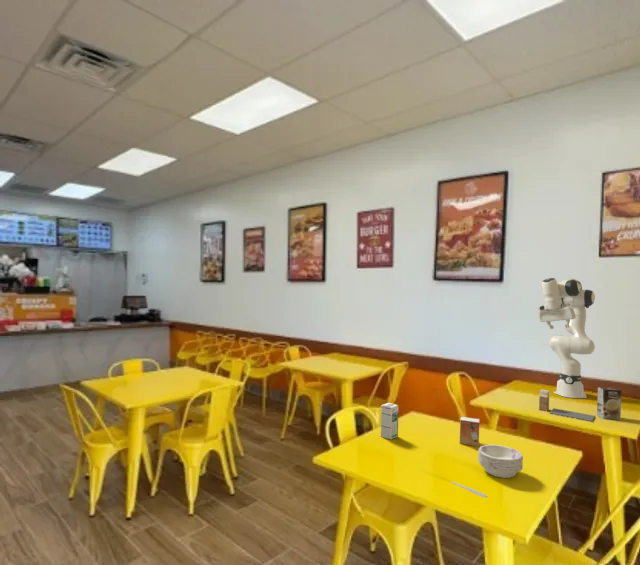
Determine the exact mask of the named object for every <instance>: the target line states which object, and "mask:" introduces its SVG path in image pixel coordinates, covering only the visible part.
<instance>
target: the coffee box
mask: <svg viewBox="0 0 640 565" xmlns="http://www.w3.org/2000/svg"><path fill="white" fill-rule="evenodd" d="M596 401H597V403H596V404H597V406H596V416H598V417H599V418H601V419H603V420H616V419H618V420H619V421H620V420H621V414H622V411H621V410H622V389H619V388H616V387H608V386H607V387H606V386H598V387H597V400H596Z"/></svg>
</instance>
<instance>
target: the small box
mask: <svg viewBox="0 0 640 565" xmlns="http://www.w3.org/2000/svg"><path fill="white" fill-rule="evenodd" d="M480 421H481V420H480V418H473V417H465V416H461V417H460V422H459V444H462V445H468V446H474V447H479V446H480V444H479V442H480Z"/></svg>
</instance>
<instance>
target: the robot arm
mask: <svg viewBox="0 0 640 565" xmlns="http://www.w3.org/2000/svg"><path fill="white" fill-rule="evenodd" d="M541 288H542V294H543V297H544V302H545V303H544V304H542V305H540V306H538V307H537V308H538V318H539V321H540V322H541V323H546V325H548V327H549V329H550V330H553V329H554V325H552V322H559V321H565V325H564V329H565V331H567V332H568V333H569V334H571V335H572V336H571V335H570V336H569V335H553V336H552V337H550V339H549V348H551V350H552V351H554V352H555V353H556V355H557V356H558V358H559V361H560V375H559V379H558V380H557V381H556V382H557V383H556V390H555V391H553V393H554V394H556V395H559V396H560V397H561V396H562V397H564V398H570V399H571V398H572V399H588V397H587V396H588V395H587V394H586V392H585V389H584V384H583V383H582V375H581V374H582V373H581V372H582V371H581V369H582V368H581V367H582V365H581V362H579V360H577V359H576V358H574V357H573V356H572V355H571V354H575V355H591V354H592V353H593V352H595V351H594V350H595V349H596V347H595V346H596V345H595V342H594V341H593V339H590V337H588V335H587V334H586V332H585V329H586V321H587V320H586V319H587V310H586V309H589V308H590V307H591V306H592V305H593V304H594V302H595V300H596V294H595V293H594V291H593V290H590V289H583V287H582V283H581V281H579V280H577V279H576V278H566V279H563V280H561V281H559V282H558V281H557V279H556V278H555V277H550V278H545V279H543V280H542V281H541Z"/></svg>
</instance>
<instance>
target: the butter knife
mask: <svg viewBox="0 0 640 565" xmlns="http://www.w3.org/2000/svg"><path fill="white" fill-rule="evenodd" d="M450 483H451V484H454V485H456V486H458V487H460V488H462V489H465V490H467V491H468V492H470V493H473V494H475V495H478V496H480V497H483V498H485V499H486V498H488V495H487V494H484V492H483V493H482V492H481V491H478V490H476V489H473V488H471V487H469V486H468V487H467V486H465V485H462V484H460V483H457V482H454V481H451V482H450Z"/></svg>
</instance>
